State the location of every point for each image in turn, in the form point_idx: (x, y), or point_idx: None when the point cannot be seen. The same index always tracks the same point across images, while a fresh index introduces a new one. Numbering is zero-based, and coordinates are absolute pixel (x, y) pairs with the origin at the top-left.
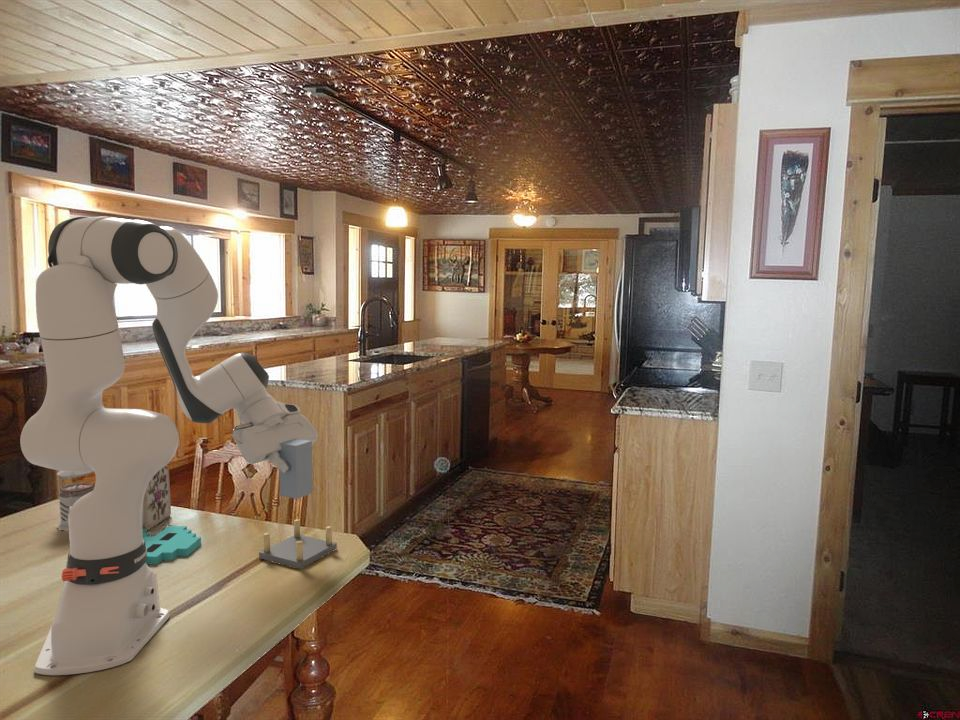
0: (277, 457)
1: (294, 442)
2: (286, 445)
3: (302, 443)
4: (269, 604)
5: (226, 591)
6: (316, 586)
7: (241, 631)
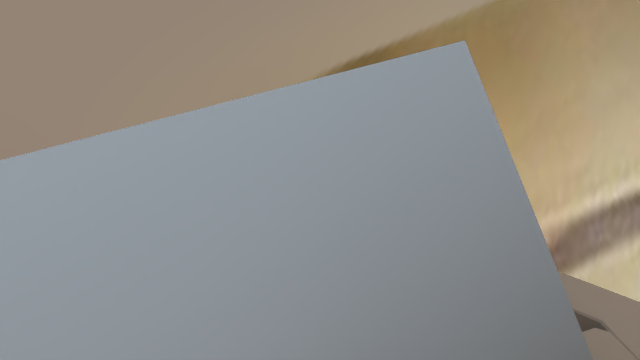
0: (612, 302)
1: (332, 355)
2: (561, 315)
3: (244, 120)
4: (506, 62)
5: (564, 200)
6: (376, 59)
7: (597, 4)
